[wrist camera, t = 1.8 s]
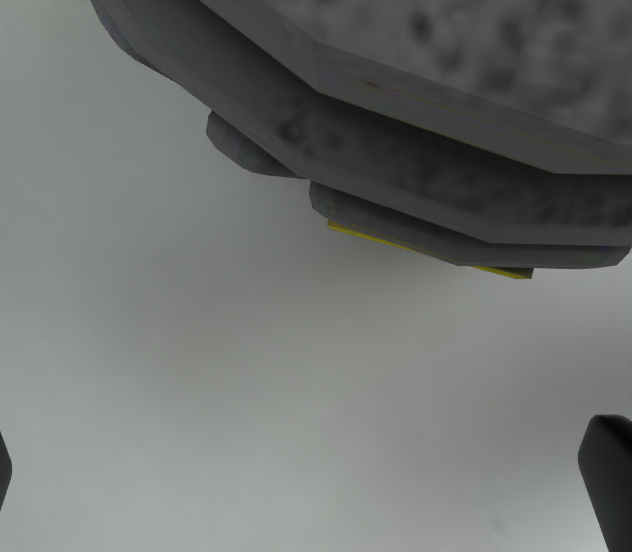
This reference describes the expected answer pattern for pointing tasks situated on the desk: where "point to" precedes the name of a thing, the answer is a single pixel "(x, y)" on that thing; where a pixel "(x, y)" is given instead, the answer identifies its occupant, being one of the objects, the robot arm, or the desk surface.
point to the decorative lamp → (419, 115)
